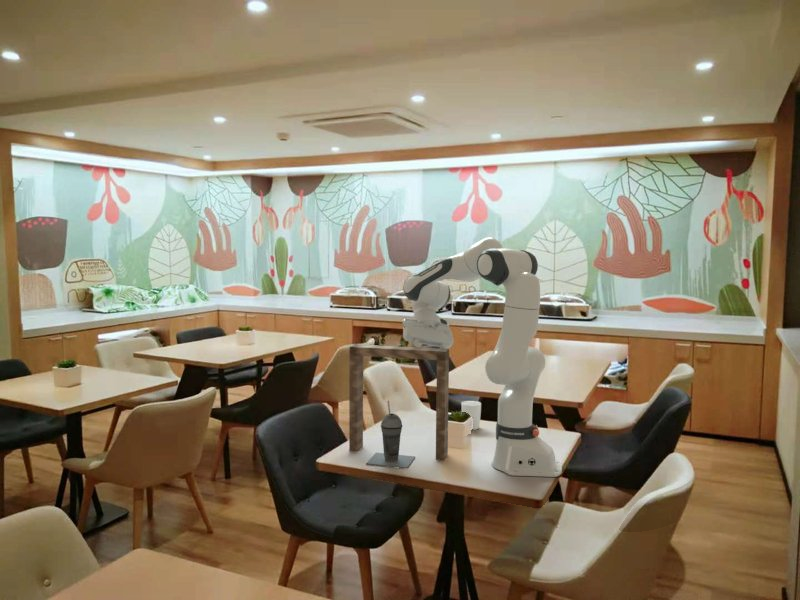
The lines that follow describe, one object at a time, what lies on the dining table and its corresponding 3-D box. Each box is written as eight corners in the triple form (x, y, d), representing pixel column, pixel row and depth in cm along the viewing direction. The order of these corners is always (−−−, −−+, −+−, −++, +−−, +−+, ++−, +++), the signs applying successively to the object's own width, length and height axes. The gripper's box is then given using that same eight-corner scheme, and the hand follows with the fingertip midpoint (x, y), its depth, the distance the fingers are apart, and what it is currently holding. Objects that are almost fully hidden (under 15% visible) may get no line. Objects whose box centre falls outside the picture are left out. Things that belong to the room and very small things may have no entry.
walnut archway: (447, 454, 208) (449, 348, 205) (444, 460, 202) (445, 351, 199) (355, 445, 217) (355, 344, 214) (349, 450, 211) (349, 346, 208)
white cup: (483, 426, 243) (483, 401, 242) (477, 431, 236) (477, 406, 235) (464, 423, 246) (464, 399, 245) (458, 428, 239) (458, 404, 238)
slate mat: (415, 457, 204) (415, 456, 204) (407, 468, 194) (407, 467, 193) (376, 454, 208) (376, 452, 208) (366, 464, 197) (366, 463, 197)
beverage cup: (399, 464, 196) (400, 404, 195) (378, 462, 198) (378, 402, 196) (404, 456, 203) (404, 398, 202) (383, 455, 205) (383, 397, 203)
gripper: (405, 313, 223) (410, 344, 215) (452, 322, 231) (458, 353, 223) (398, 322, 227) (402, 353, 219) (444, 331, 236) (450, 361, 227)
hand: (431, 353), depth 221 cm, fingers open, 8 cm apart
